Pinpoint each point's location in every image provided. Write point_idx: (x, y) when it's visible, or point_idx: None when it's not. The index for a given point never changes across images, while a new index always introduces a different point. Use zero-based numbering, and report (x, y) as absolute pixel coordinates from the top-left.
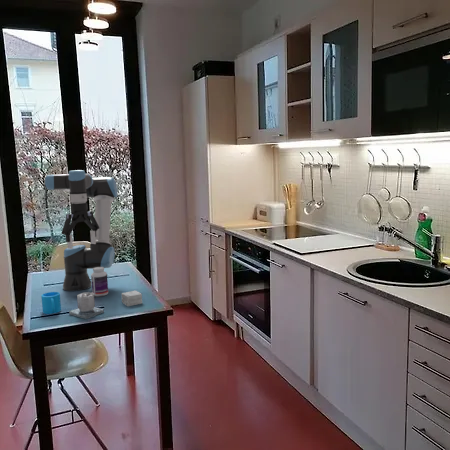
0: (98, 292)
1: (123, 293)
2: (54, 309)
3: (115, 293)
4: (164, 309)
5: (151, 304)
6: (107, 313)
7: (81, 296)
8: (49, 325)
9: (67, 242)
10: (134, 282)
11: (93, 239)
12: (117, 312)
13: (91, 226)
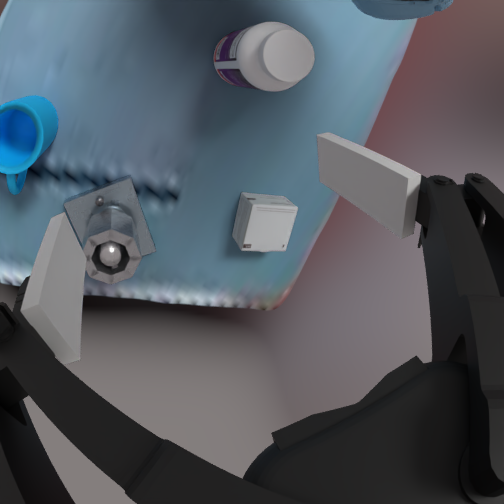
0: (226, 79)
1: (254, 214)
2: (22, 187)
3: None
4: (275, 303)
5: (281, 258)
6: (160, 257)
7: (92, 268)
8: (6, 256)
9: (40, 249)
10: (384, 38)
11: (343, 186)
12: (185, 265)
13: (427, 278)
